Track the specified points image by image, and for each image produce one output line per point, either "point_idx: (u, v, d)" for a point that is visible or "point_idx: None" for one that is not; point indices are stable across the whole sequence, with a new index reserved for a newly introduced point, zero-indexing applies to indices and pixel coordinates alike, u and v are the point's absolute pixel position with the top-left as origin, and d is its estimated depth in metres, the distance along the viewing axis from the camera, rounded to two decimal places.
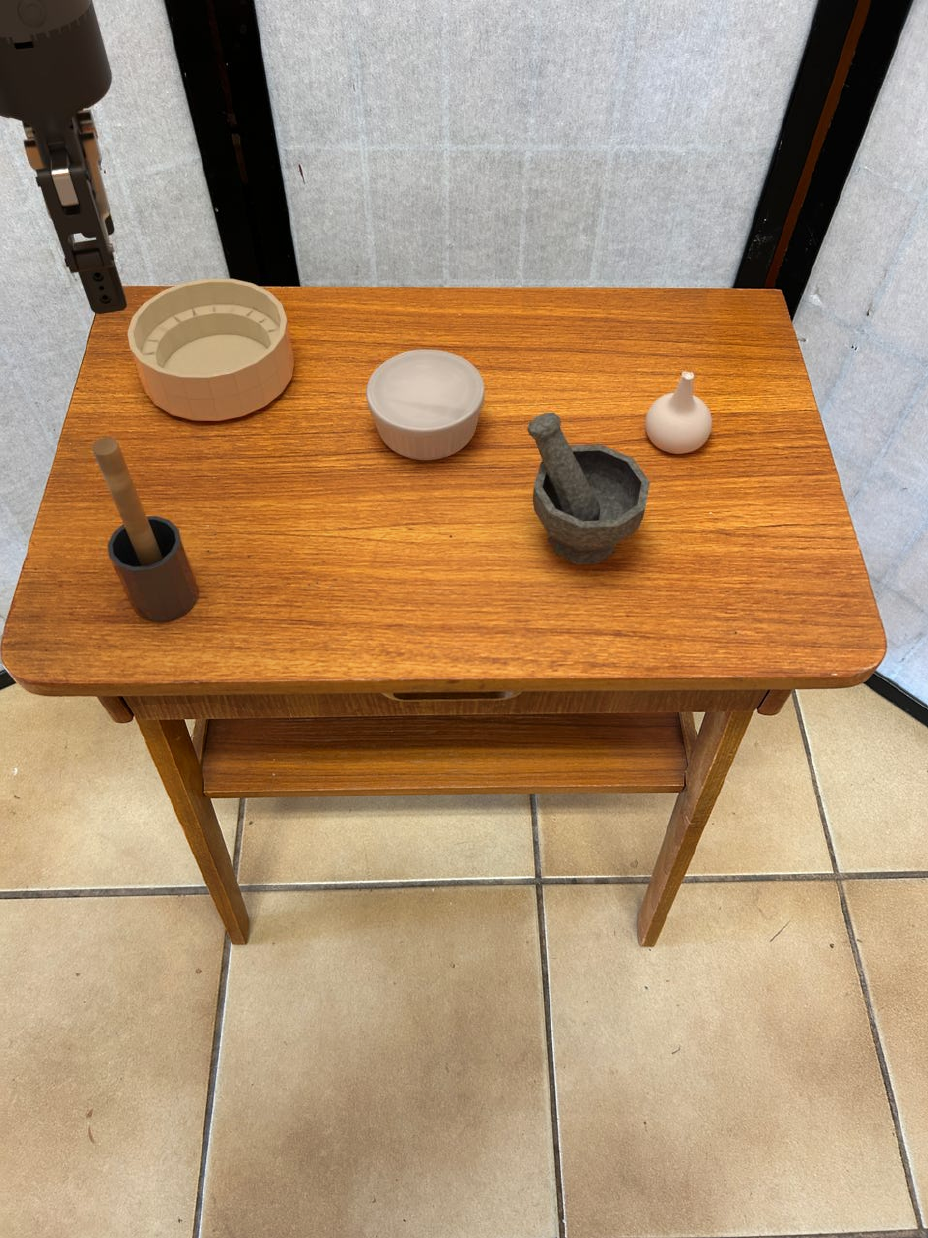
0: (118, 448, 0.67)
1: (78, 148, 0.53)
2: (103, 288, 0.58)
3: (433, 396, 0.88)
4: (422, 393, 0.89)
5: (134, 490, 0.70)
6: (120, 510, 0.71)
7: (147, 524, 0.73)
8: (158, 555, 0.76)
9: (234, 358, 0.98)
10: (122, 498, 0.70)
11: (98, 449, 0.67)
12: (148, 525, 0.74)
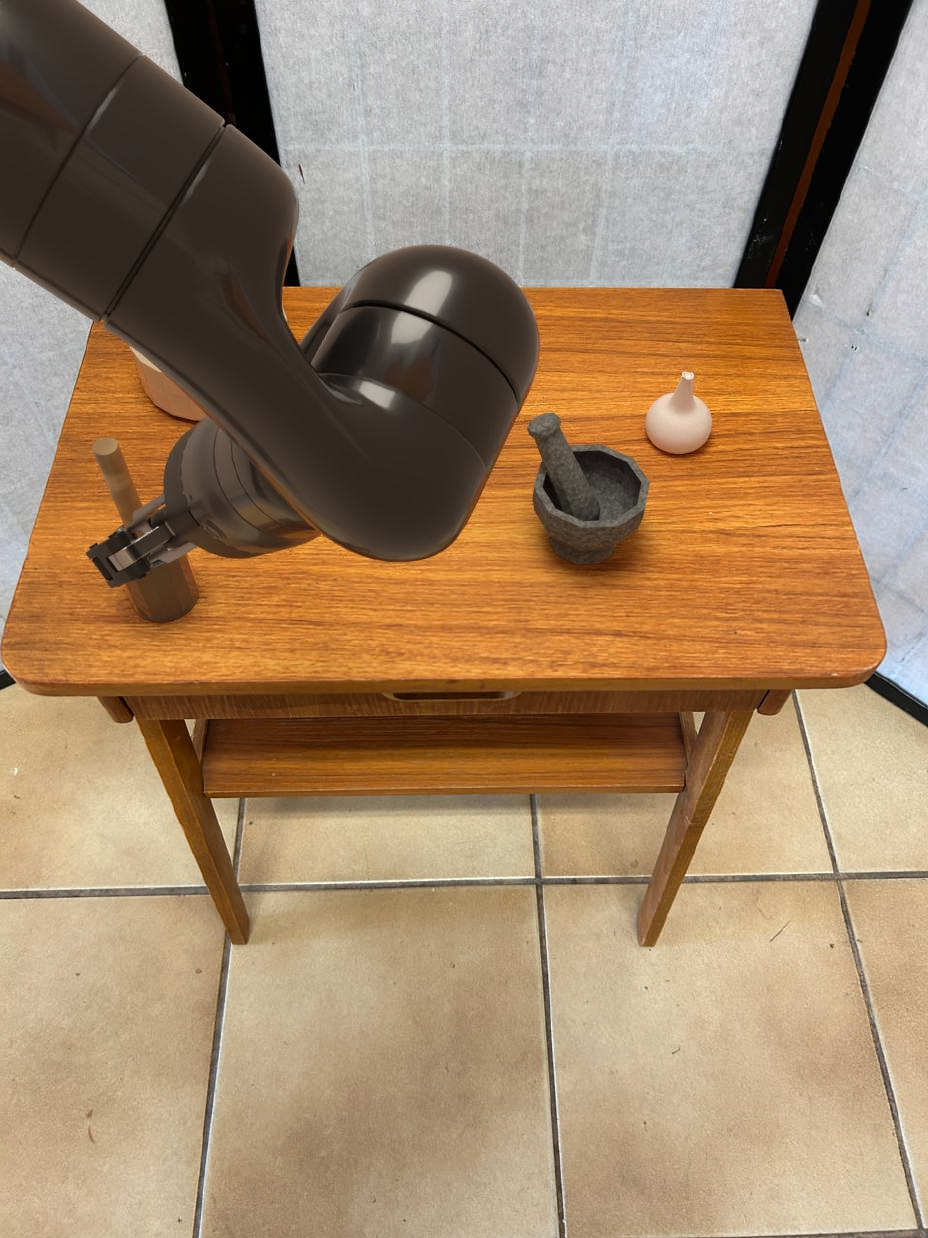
0: (118, 448, 0.67)
1: (180, 546, 0.51)
2: None
3: None
4: None
5: (134, 490, 0.70)
6: (120, 510, 0.71)
7: None
8: None
9: None
10: (122, 498, 0.70)
11: (98, 449, 0.67)
12: None
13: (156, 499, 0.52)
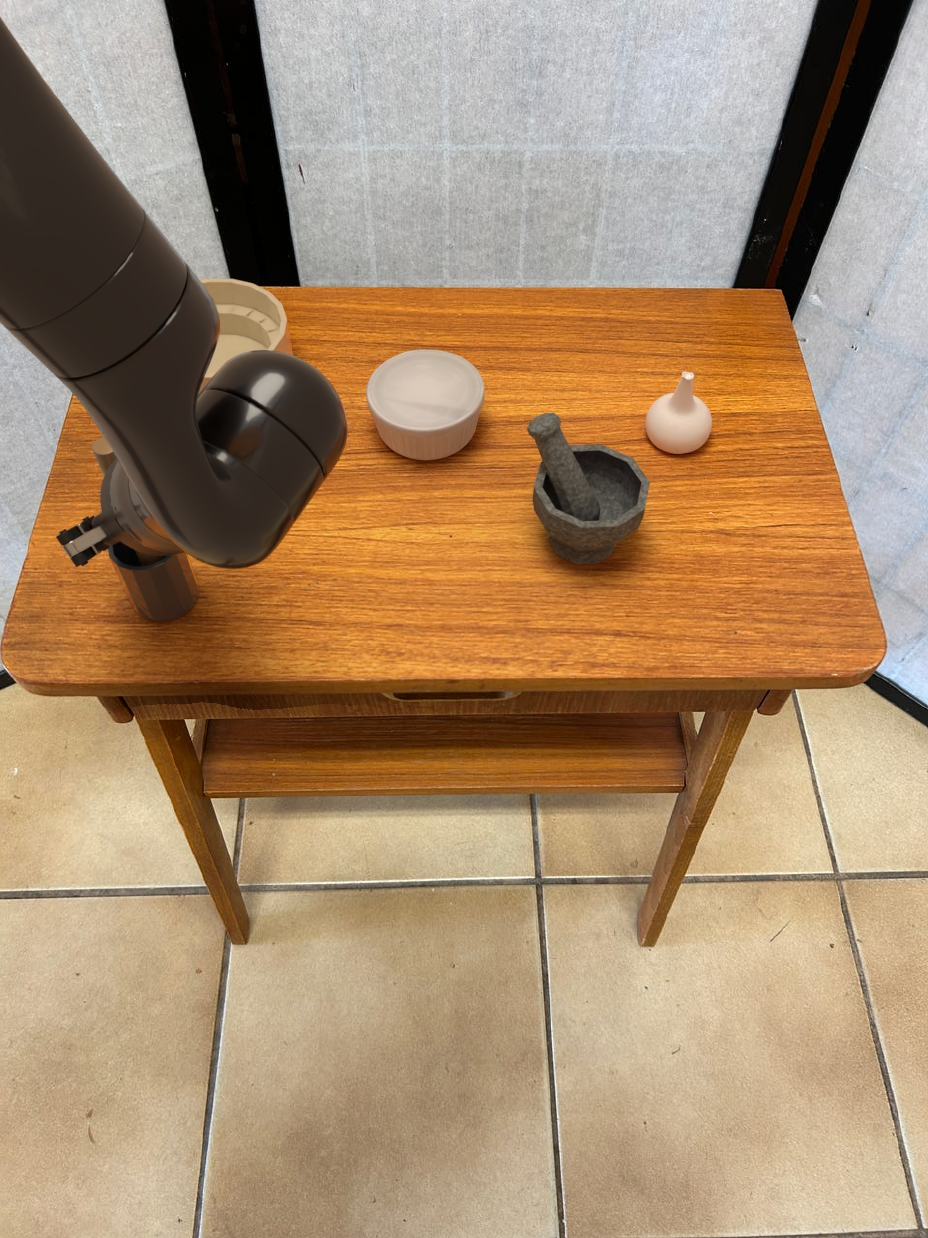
0: None
1: (114, 543, 0.64)
2: None
3: (433, 396, 0.88)
4: (422, 393, 0.89)
5: None
6: None
7: None
8: None
9: None
10: None
11: (98, 448, 0.67)
12: None
13: None
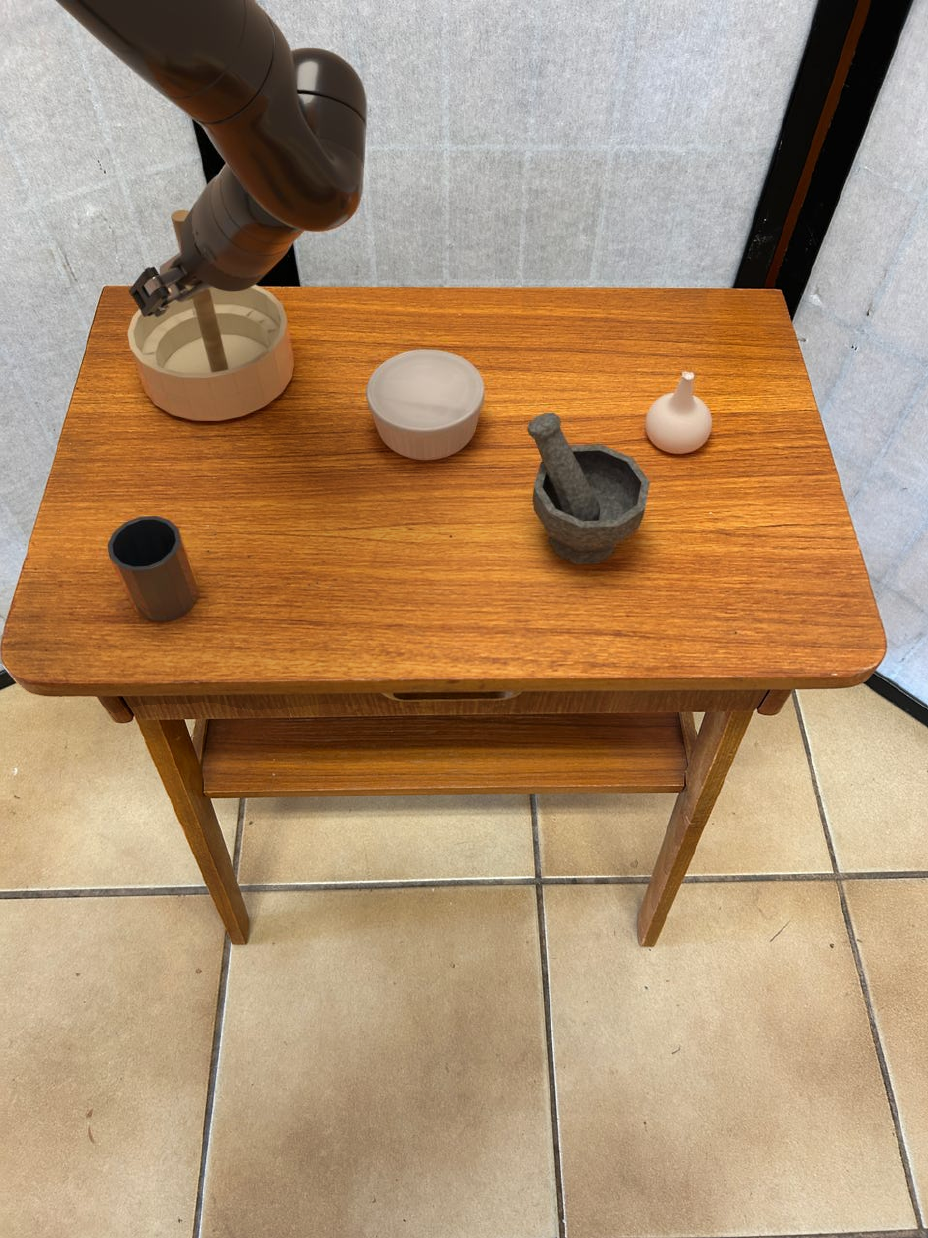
0: None
1: (189, 282, 0.80)
2: None
3: (433, 396, 0.88)
4: (422, 393, 0.89)
5: None
6: None
7: (210, 296, 0.90)
8: (217, 328, 0.93)
9: (234, 358, 0.98)
10: None
11: (176, 217, 0.83)
12: (211, 297, 0.90)
13: (175, 256, 0.82)
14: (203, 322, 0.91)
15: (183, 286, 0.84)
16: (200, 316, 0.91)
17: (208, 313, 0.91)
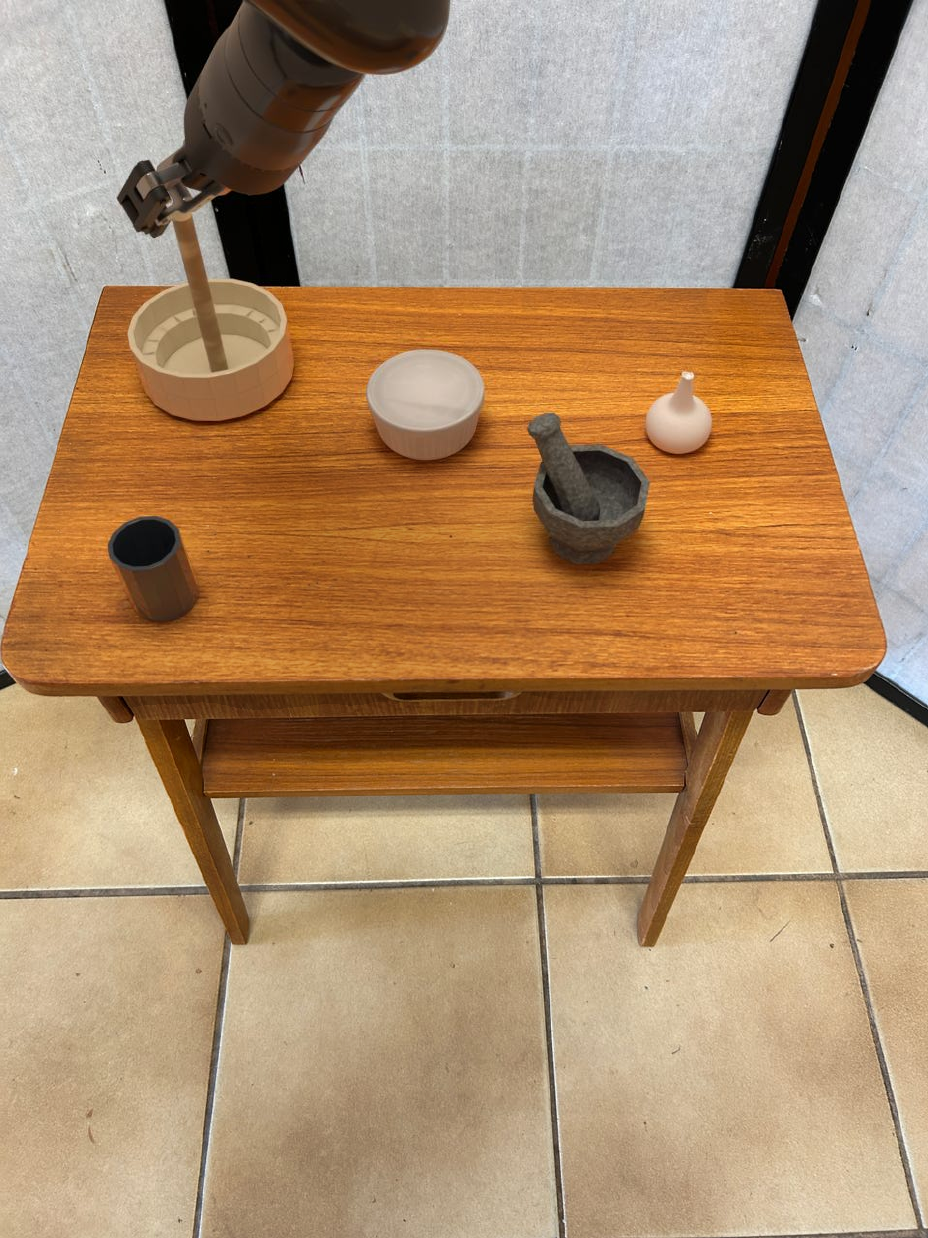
0: (192, 217, 0.83)
1: (195, 183, 0.62)
2: None
3: (433, 396, 0.88)
4: (422, 393, 0.89)
5: (202, 260, 0.87)
6: (190, 278, 0.88)
7: (210, 296, 0.90)
8: (217, 328, 0.93)
9: (234, 358, 0.98)
10: (192, 265, 0.86)
11: (176, 217, 0.83)
12: (211, 297, 0.90)
13: (177, 151, 0.63)
14: (203, 322, 0.91)
15: (187, 193, 0.65)
16: (200, 316, 0.91)
17: (208, 313, 0.91)
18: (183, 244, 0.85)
